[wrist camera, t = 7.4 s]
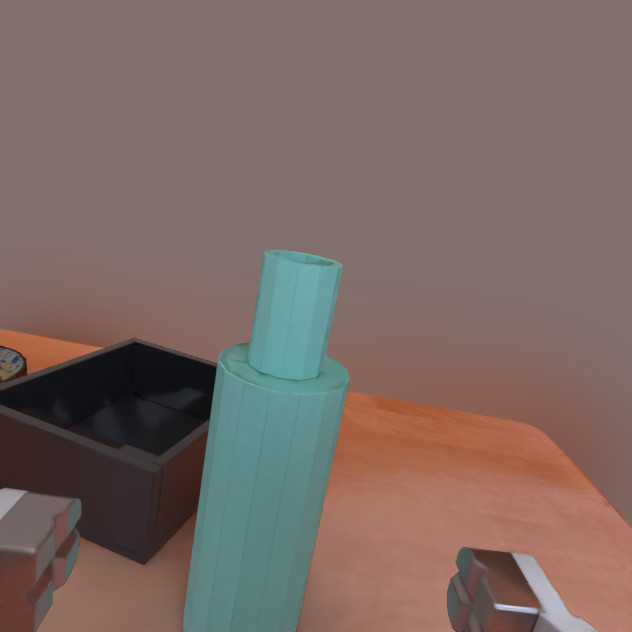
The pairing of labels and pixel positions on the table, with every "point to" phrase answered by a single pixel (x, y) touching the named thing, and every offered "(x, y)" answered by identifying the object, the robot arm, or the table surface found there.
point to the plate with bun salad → (11, 365)
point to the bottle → (268, 454)
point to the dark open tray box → (113, 440)
